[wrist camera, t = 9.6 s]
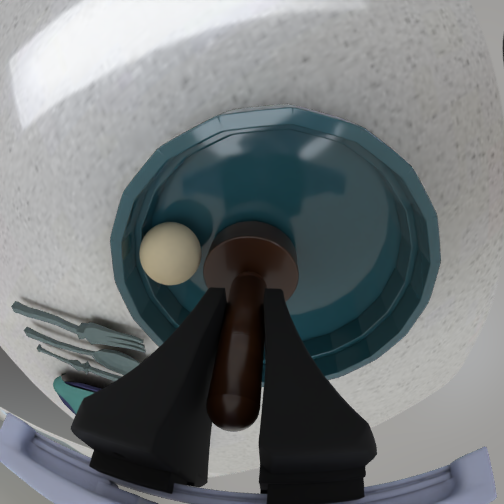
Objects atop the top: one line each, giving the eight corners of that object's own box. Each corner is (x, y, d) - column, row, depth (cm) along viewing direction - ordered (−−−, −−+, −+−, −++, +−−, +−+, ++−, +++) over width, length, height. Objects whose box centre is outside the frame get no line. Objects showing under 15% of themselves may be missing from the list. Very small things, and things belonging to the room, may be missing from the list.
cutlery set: (89, 419, 35) (85, 430, 34) (6, 286, 19) (-7, 301, 17) (201, 451, 36) (199, 464, 34) (192, 338, 19) (185, 364, 17)
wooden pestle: (298, 220, 13) (319, 397, 6) (295, 294, 15) (300, 452, 8) (204, 220, 13) (132, 382, 6) (214, 293, 16) (176, 442, 8)
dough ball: (152, 249, 11) (131, 215, 12) (152, 304, 12) (132, 266, 14) (217, 237, 12) (188, 208, 14) (208, 289, 14) (182, 256, 16)
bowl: (449, 161, 11) (489, 184, 8) (349, 356, 19) (356, 395, 16) (149, 84, 11) (110, 87, 8) (145, 320, 19) (128, 357, 16)
